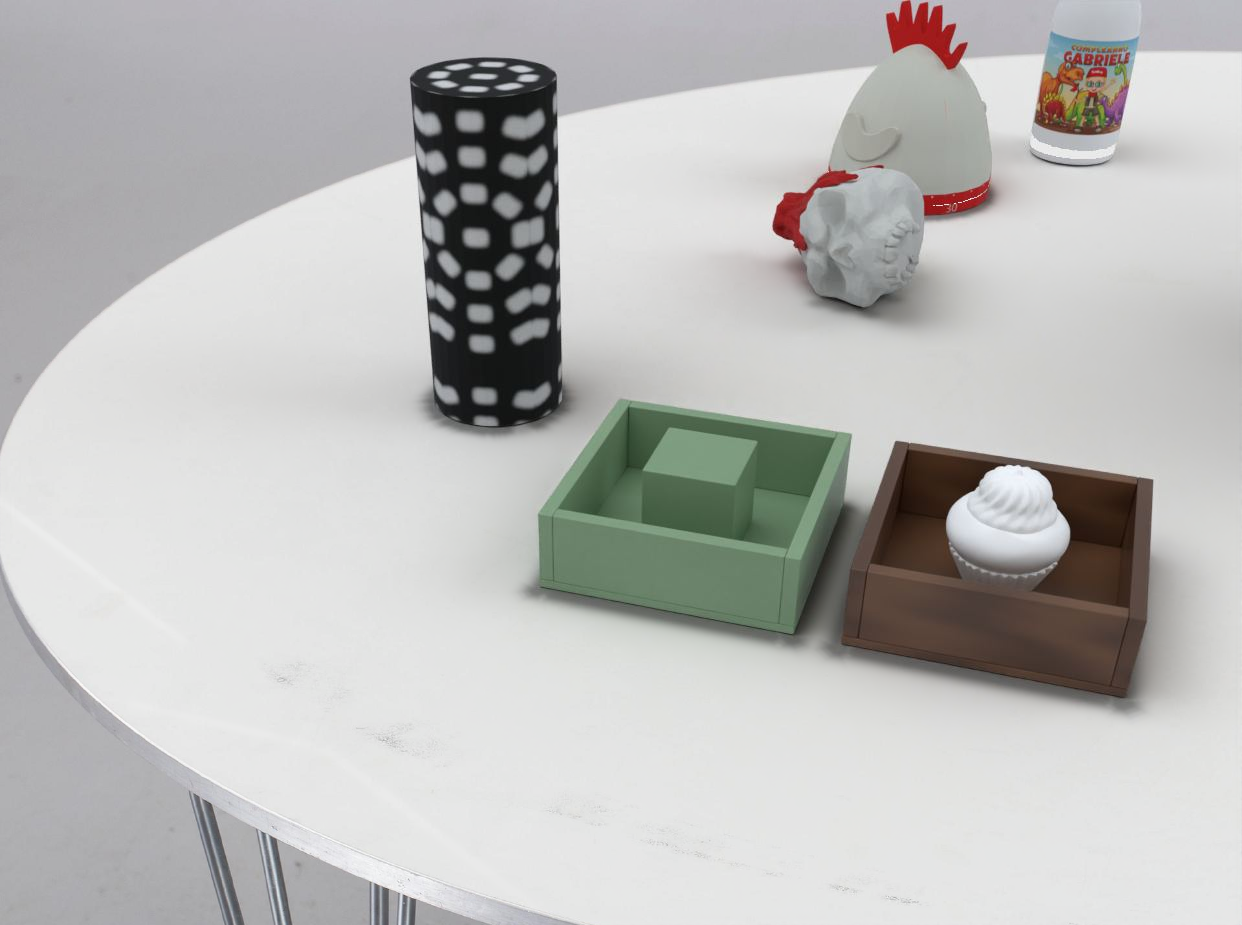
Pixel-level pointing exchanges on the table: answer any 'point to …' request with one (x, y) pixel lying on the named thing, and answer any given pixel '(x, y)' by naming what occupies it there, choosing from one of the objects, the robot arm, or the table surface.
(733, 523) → the green block
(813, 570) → the green bin
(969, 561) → the muffin
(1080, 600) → the brown bin
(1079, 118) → the milk bottle
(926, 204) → the kitchen timer
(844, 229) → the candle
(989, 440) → the table surface
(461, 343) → the spotted tube
